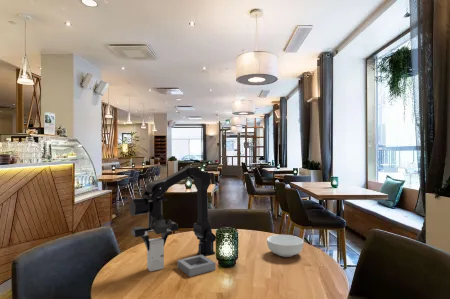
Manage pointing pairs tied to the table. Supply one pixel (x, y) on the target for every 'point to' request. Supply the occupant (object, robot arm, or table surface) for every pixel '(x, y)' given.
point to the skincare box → (155, 254)
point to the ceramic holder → (196, 265)
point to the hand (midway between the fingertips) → (155, 249)
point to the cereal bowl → (285, 245)
